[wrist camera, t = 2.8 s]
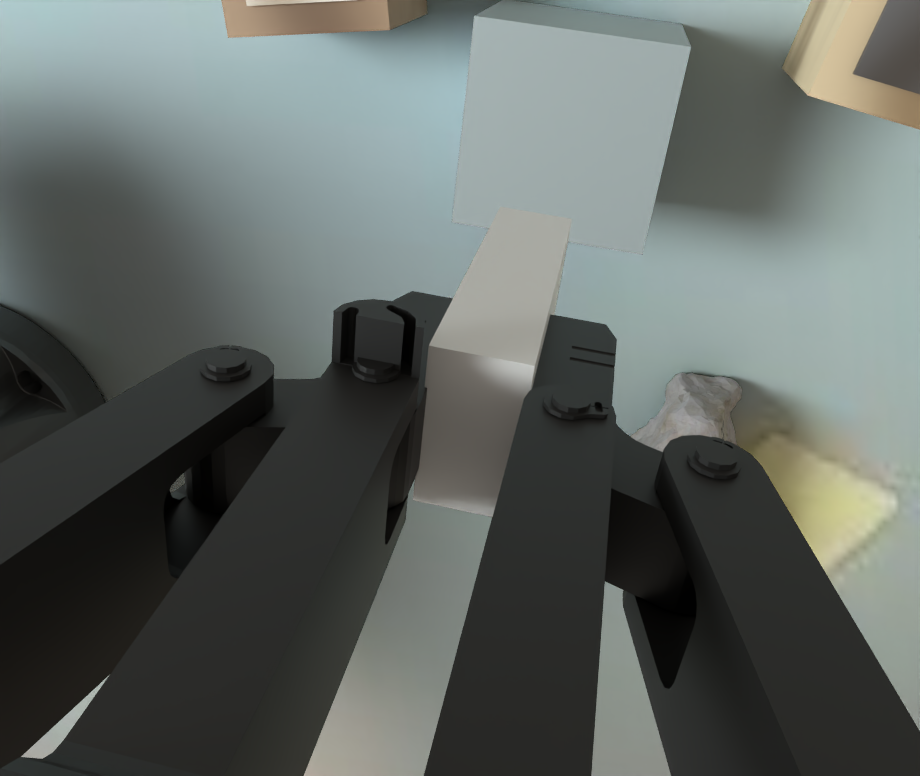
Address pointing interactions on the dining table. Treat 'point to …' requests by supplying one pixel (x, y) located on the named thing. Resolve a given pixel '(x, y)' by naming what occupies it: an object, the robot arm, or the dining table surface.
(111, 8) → the dining table surface
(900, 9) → the oak block
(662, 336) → the dining table surface
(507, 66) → the plain block
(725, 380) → the stone
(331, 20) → the walnut block
